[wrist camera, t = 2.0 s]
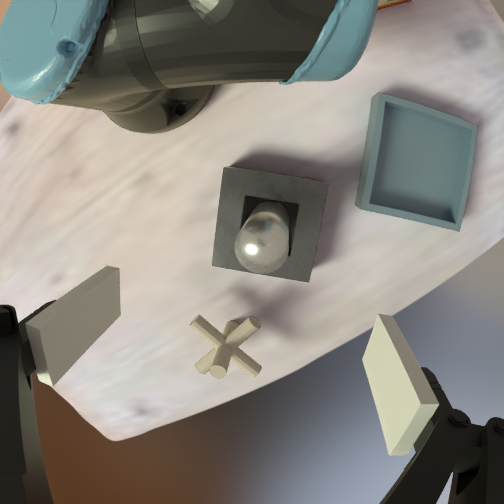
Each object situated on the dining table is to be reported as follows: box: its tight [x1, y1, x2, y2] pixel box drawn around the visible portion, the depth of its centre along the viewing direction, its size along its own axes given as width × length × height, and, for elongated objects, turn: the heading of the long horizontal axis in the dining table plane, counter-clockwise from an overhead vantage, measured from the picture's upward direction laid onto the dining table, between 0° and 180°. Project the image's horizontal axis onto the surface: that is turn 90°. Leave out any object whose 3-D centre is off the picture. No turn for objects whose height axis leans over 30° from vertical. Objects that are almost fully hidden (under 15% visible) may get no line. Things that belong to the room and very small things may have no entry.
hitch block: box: [212, 166, 328, 282], centre depth 36 cm, size 11×11×4 cm
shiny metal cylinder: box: [235, 201, 289, 274], centre depth 32 cm, size 4×4×12 cm
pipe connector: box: [189, 315, 262, 378], centre depth 38 cm, size 10×10×10 cm
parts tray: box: [355, 92, 478, 232], centre depth 32 cm, size 13×13×3 cm
